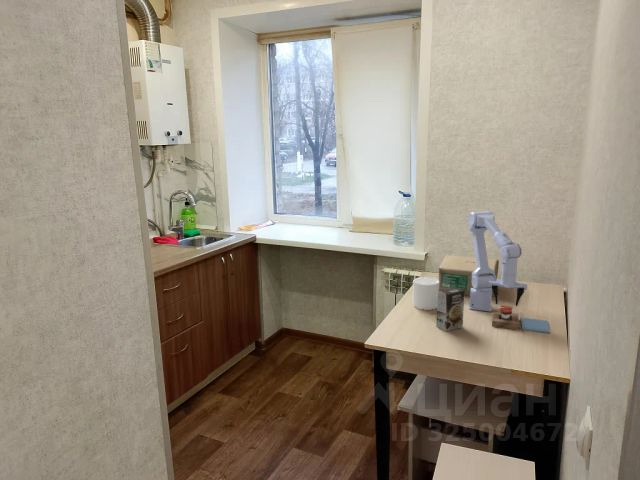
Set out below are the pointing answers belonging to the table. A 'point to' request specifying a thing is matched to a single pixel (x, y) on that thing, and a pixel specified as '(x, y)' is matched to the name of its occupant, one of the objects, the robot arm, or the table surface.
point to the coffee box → (450, 308)
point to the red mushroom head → (505, 312)
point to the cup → (425, 293)
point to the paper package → (461, 272)
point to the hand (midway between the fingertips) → (506, 304)
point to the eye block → (505, 321)
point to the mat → (535, 325)
